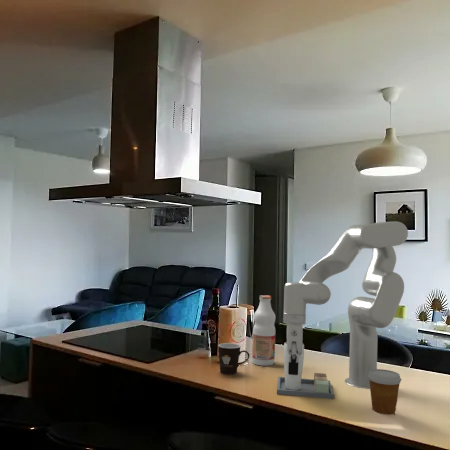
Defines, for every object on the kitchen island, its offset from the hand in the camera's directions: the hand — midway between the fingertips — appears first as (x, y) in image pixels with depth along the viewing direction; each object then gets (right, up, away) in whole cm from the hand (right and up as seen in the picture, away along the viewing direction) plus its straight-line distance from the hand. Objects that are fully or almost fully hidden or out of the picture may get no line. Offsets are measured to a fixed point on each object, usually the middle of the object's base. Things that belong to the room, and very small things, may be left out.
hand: (293, 370), depth 151 cm
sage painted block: (+8, -6, -6) cm, 12 cm away
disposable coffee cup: (+24, -7, -18) cm, 31 cm away
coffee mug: (-21, -7, +19) cm, 29 cm away
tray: (+4, -7, -1) cm, 8 cm away
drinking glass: (0, -6, -1) cm, 6 cm away
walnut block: (+10, -6, +3) cm, 12 cm away
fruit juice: (-7, -8, +35) cm, 37 cm away
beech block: (+9, -6, -2) cm, 11 cm away
